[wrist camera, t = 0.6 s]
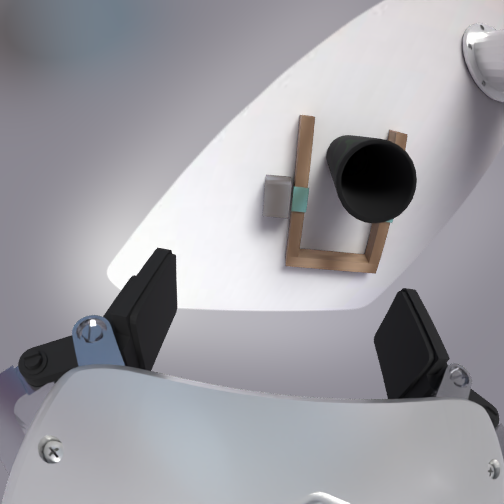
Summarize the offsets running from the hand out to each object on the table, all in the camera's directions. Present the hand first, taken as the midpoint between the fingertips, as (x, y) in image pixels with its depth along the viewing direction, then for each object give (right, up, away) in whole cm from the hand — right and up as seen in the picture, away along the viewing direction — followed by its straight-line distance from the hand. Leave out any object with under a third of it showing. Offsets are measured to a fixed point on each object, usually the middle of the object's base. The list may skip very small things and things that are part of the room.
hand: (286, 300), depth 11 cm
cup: (+11, +14, +21) cm, 28 cm away
